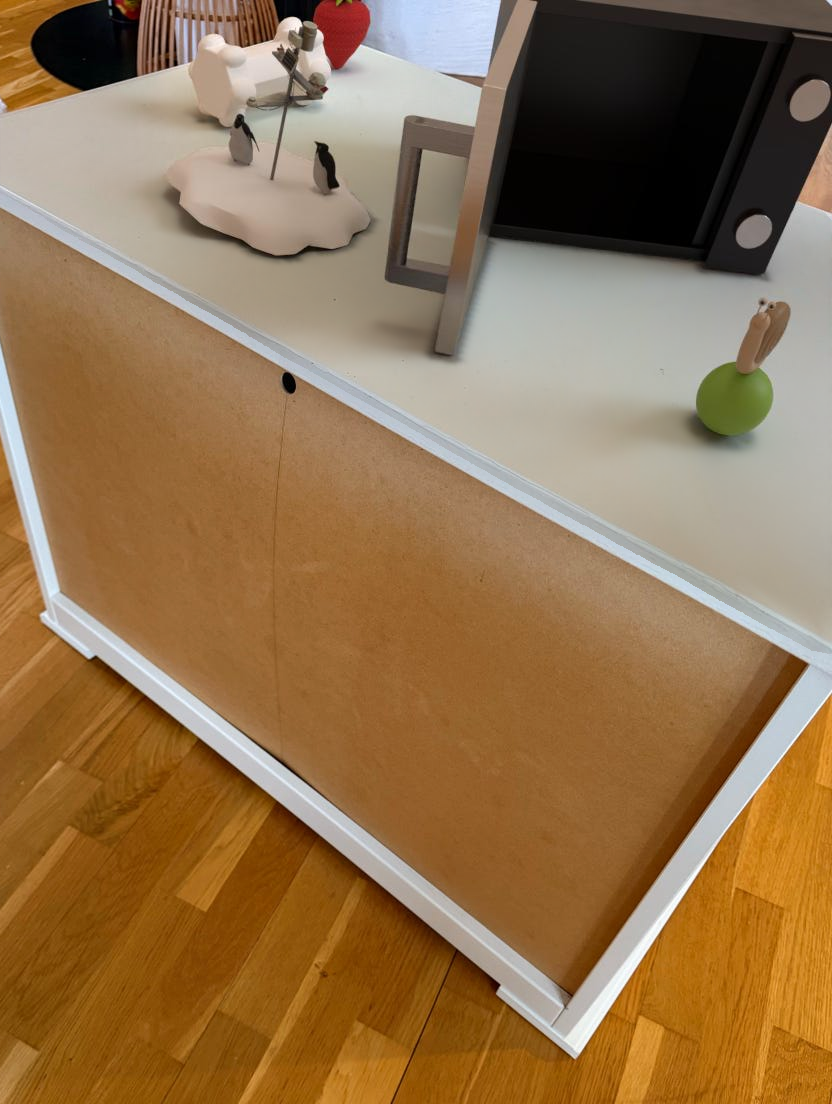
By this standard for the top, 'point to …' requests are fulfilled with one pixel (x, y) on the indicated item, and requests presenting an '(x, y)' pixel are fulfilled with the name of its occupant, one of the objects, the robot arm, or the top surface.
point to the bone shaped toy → (249, 72)
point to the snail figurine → (744, 377)
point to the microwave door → (480, 186)
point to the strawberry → (342, 28)
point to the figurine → (271, 179)
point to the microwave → (666, 125)
